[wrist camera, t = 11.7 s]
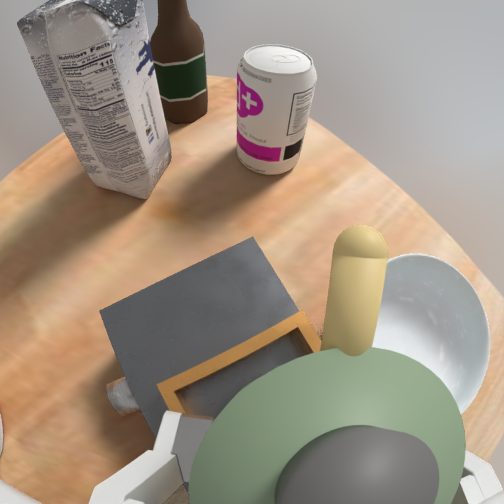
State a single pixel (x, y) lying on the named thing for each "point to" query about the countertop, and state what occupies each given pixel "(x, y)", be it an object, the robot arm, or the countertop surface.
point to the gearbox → (203, 336)
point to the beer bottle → (179, 63)
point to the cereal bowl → (435, 322)
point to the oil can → (338, 413)
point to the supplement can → (273, 106)
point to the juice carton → (102, 88)
